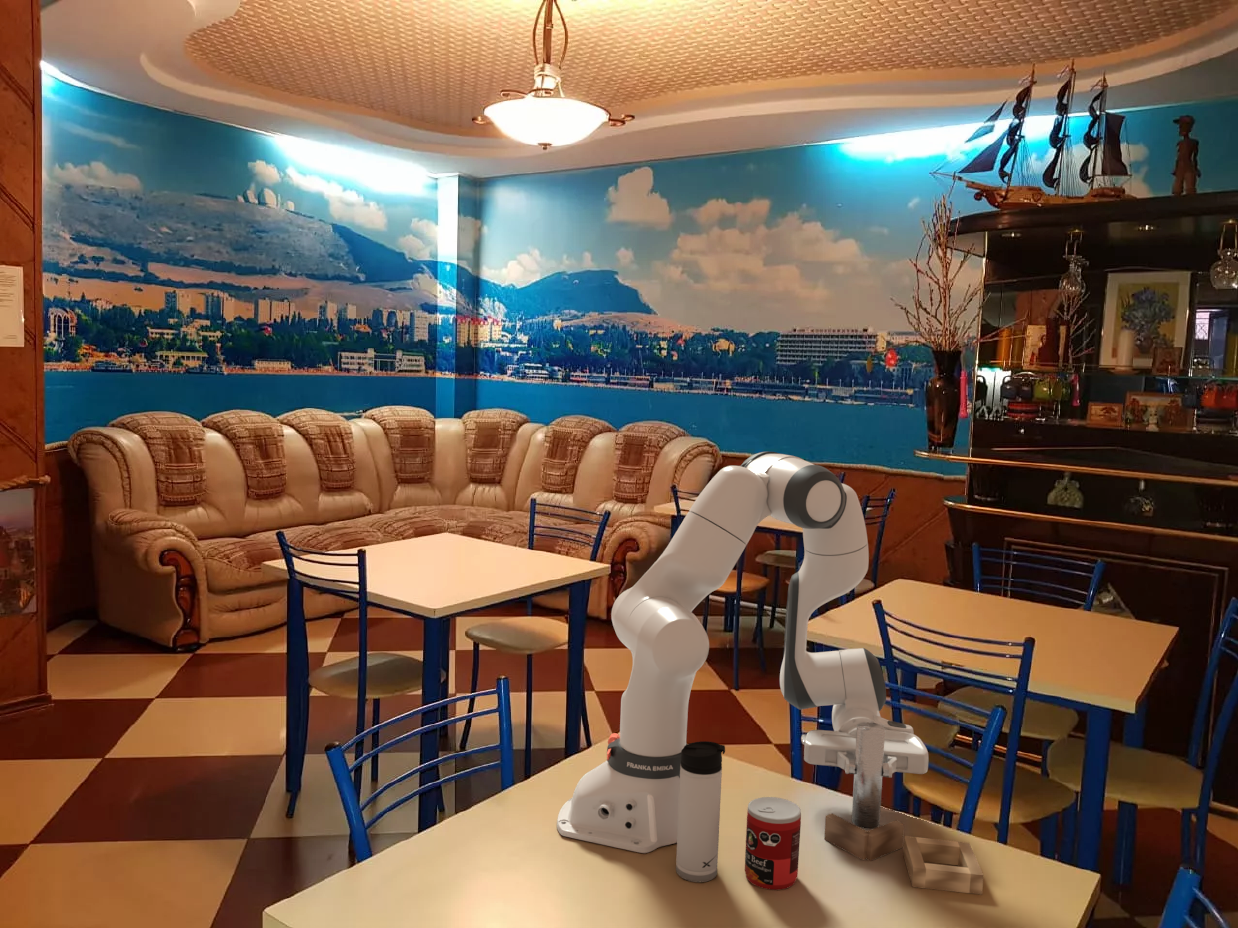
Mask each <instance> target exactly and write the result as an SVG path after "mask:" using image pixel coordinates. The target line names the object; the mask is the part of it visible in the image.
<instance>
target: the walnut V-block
mask: <svg viewBox="0 0 1238 928" xmlns="http://www.w3.org/2000/svg"><path fill="white" fill-rule="evenodd" d="M904 829H905V823H903V822H901V821H900V820H897V819H895V820H893V821H890V822H887V823H885V824H882V825H879V826H878V827H877V828H874V829H869V830H867V829H866V830H865V828H861V827H858V826H856V825H855V824H853V823H852V822H850V821H848V820H846V819H845V818H842V817H840V816H839V815H836V814H834V813H829V814H826V815H825V822H824V840H825V841H827V842H829V843H831V844H833V845H835V846H836V847H838V848H840V849H841V850H844V851H845V852H848V853H849V854H851V855H852V856H854V857H856V858H859V860H862V861H865V860H868V861H870V862H871V861H874V860H876V859H879V858H881V857H883V856H886V855H889V854H891V853H892V852H896V851H897V850H900V849H903V845H904Z"/></svg>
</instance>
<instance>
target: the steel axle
mask: <svg viewBox="0 0 1238 928" xmlns="http://www.w3.org/2000/svg"><path fill="white" fill-rule="evenodd" d="M884 739H885V728H884V727H883V726H882V725H879V724H876V723H871V722H862V723H859V724H857V732H856V751H855V774H853V787H852V788H853V791H852V806H851V807H852V808H851V809H852V810H851V823H852V824H854V825H856V826H858V827H860V828H862V829H866V830H867V829H869V830H872V829H874V828H877V827H879V826H881V825H880V823H881V822H880V821H881V806H882V790H883V787H882V786H883V777H882V773H883V756H884Z"/></svg>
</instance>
